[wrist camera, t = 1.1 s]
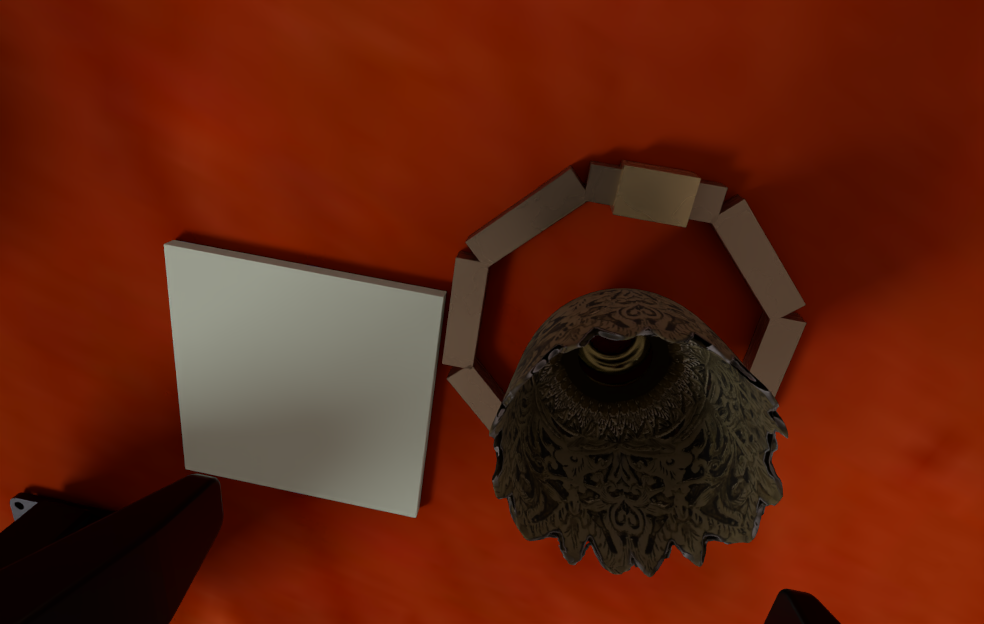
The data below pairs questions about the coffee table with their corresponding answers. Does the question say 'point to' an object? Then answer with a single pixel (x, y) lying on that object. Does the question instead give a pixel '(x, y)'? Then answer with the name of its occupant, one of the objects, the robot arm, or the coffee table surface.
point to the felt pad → (303, 375)
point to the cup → (635, 435)
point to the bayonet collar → (631, 196)
